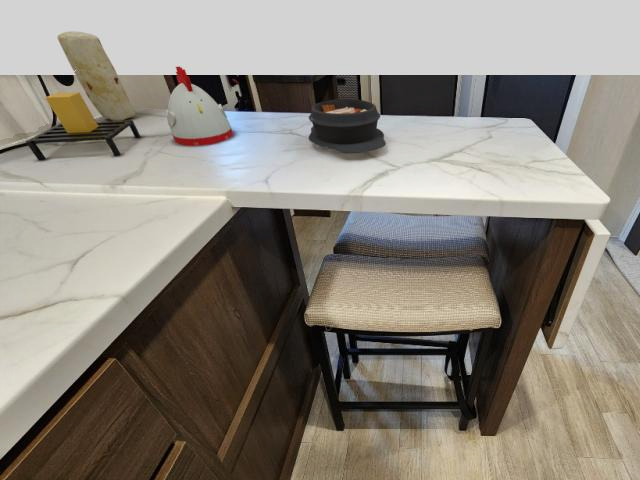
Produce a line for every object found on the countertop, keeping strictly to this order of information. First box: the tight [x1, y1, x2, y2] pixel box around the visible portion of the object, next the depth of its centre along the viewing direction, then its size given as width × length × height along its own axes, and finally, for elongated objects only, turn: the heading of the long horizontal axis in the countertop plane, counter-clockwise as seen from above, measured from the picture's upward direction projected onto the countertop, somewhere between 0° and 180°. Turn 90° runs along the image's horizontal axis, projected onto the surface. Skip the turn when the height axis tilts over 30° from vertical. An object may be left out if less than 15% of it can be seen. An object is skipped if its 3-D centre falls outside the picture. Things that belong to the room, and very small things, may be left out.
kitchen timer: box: [164, 65, 234, 147], centre depth 80 cm, size 14×14×15 cm
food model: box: [56, 30, 136, 121], centre depth 90 cm, size 10×7×20 cm
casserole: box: [308, 98, 387, 154], centre depth 80 cm, size 25×19×8 cm
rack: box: [25, 119, 142, 162], centre depth 77 cm, size 16×14×4 cm
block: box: [44, 91, 99, 133], centre depth 74 cm, size 4×4×7 cm
